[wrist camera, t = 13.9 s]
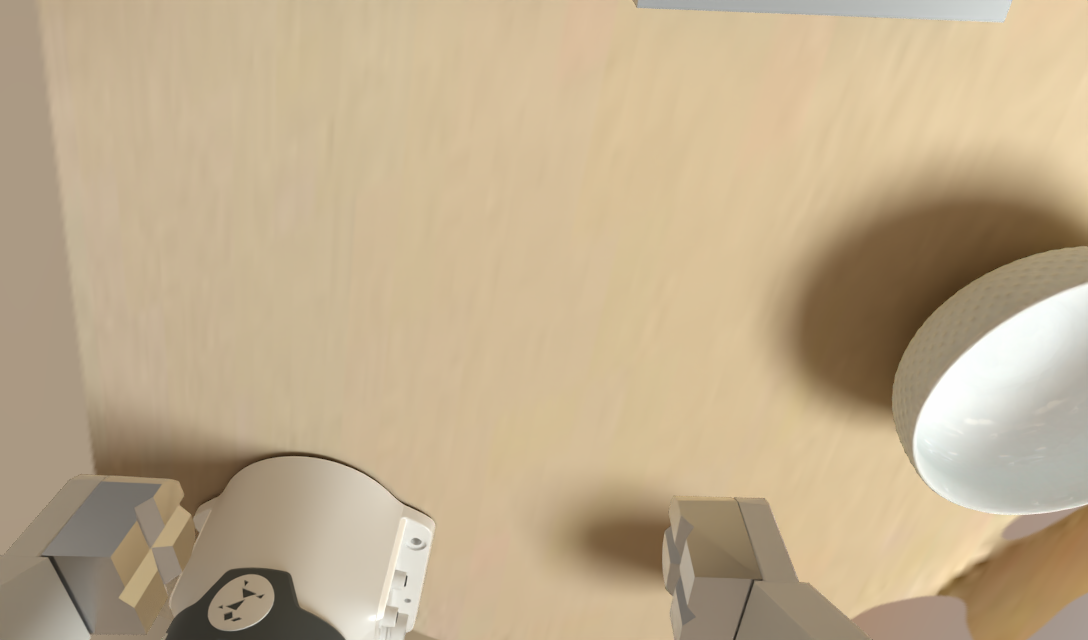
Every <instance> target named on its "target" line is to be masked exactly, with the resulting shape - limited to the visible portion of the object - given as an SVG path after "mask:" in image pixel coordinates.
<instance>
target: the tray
mask: <svg viewBox="0 0 1088 640" xmlns="http://www.w3.org/2000/svg"><path fill="white" fill-rule="evenodd" d="M633 2H634V3H635V5H636V7H637V8H655V9H680V10H705V11H730V12H755V13H780V14H805V15H831V16H856V17H881V18H906V19H931V20H956V21H981V22H1004V21H1005V18H1006V15H1007V13H1008V10H1009V8H1010V5H1011V3H1012V0H633Z"/></svg>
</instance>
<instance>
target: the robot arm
mask: <svg viewBox="0 0 1088 640" xmlns="http://www.w3.org/2000/svg"><path fill="white" fill-rule="evenodd" d="M184 496H185V495H184V492H183V490H182V488H181V485H180V483H179V481H177V480H173V479H163V478H147V477H130V476H113V475H111V476H105V475H88V474H80V475H78V476H76V477H74V478H72V479H70V480H69V481H68V482H67V483H66V484H65V486H64V487H63V488H62V489H61V490H60V491H59V492H58V494H57V495H56V496H55V497H54V498H53V499H52V500H51V501H50V502H49V504H48V505H47V506H46V507H45V508H44V509H43V510H42V512H41V513H40V514H39V515H38V516H37V517H36V519H35V520H34V521H33V522H32V523H31V524H30V525H29V526H28V528H27V529H26V530H25V531H24V532H23V533H22V534H21V535H20V537H19V538H18V539H17V540H16V541H15V542H14V543H13V545H12V546H11V547H10V548H9V549H8V550H7V551H6V553H5V554H4V555H0V640H89V639H90V638H91V635H90V634H97V635H99V634H100V635H101V634H106V635H107V634H108V635H116V634H117V635H146V634H147V633H148V631H149V630H150V628H151V626H152V624H153V622H154V621H155V619H156V617H157V616H158V614H159V612H160V611H161V609H162V607H163V605H164V604H165V602H166V600H167V598H168V592H167V588H166V584H167V583H168V582H170V581H171V580H172V579H174V578H175V577H177V576H178V575H179V574H180V576H179V578H178V581H177V583H176V585H175V587H174V590H173V592H172V594H171V597H170V600H169V608H170V609H171V610H172V614H173V616H174V619H173V621H172V623H171V624H170V626H169V628H168V630H167V632H166V634H165V635H164V637H163V638H161V640H404V638H405V634H406V633H407V632H409V631H411V630H412V629H413V627H414V623H415V620H416V617H417V613H418V608H419V603H420V598H421V594H422V589H423V584H424V579H425V575H426V570H427V565H428V560H429V555H430V551H431V546H432V541H433V536H434V532H435V523H434V521H433V520H432V519H431V518H430V517H428V516H426V515H425V514H423V513H421V512H419V511H417V510H415V509H412V508H410V507H408V506H406V505H404V504H402V503H401V502H399V501H398V500H397V499H396V498H395V497H394V496H393V495H391V494H390V493H389V492H388V491H387V490H386V489H385V488H384V487H383V486H381V485H380V484H379V483H377V482H376V481H375V480H373V479H371V478H370V477H368V476H366V475H365V474H363V473H361V472H359V471H357V470H355V469H352V468H350V467H348V466H345V465H342V464H339V463H336V462H332V461H329V460H324V459H319V458H313V457H303V456H285V457H276V458H270V459H265V460H262V461H259V462H256V463H253V464H251V465H249V466H247V467H245V468H244V469H242V470H241V471H239V472H238V473H237V474H236V475H235V476H234V477H233V478H232V479H231V480H230V481H229V483H228V484H227V486H226V488H225V489H224V491H223V492H222V493H221V494H220V495H219V496H218V497H216V498H214V499H212V500H209V501H207V502H205V503H204V504H202V505H201V506H199V507H198V509H197V511H196V513H195V515H194V518H192V515H191V514H190V513H189V512H188V511H186V510H185V509H184V508H182V507H181V506H180V505H179V504H180V502H181V500H182V499H183V497H184ZM669 517H670V522H671V526H670V527H669V528H668V529H666V530H665V533H664V539H663V548H662V566H663V576H664V583H665V589H666V590H667V591H668V592H669V593H670V594H671V595H672V596H673V600H672V605H671V609H670V618H671V623H672V629H673V634H674V640H873V639H871V638H870V637H869V636H868V635H867V634H866V633H865V632H863V631H862V630H861V629H860V628H859V627H858V626H857V625H856V624H855V623H853V622H852V621H851V620H850V619H849V618H848V617H847V616H846V615H844V614H843V613H842V612H841V611H840V610H839V609H838V608H837V607H835V606H834V605H833V604H832V603H831V602H830V601H829V600H828V599H826V598H825V597H824V596H823V595H822V594H821V593H820V592H819V591H817V590H816V589H815V588H814V587H813V586H812V585H811V584H810V583H805V582H799V580H798V577H797V575H796V572H795V570H794V567H793V564H792V562H791V559H790V557H789V554H788V551H787V549H786V546H785V544H784V541H783V538H782V536H781V533H780V531H779V528H778V525H777V523H776V520H775V518H774V515H773V512H772V510H771V507H770V505H769V503H768V502H767V501H766V500H765V499H764V498H737V497H734V498H731V497H700V496H673V498H672V500H671V503H670V508H669ZM195 528H196V529H197V531H198V532H199V535H198V537H197V540H196V542H195ZM194 542H195V544H194Z"/></svg>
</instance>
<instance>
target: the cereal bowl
mask: <svg viewBox="0 0 1088 640" xmlns="http://www.w3.org/2000/svg"><path fill="white" fill-rule="evenodd" d="M892 388H893V395H892V412H893V420H894V422H895V425H896V431H897V433H898V436H899V439H900V442H901V444H902V446H903V448H904V451H905V453H906V454H907V456H908V457H909V460H910V463H911V464H912V465H913V466H914V468H915V470H916V472H917V474H918V475H919V476H920V477H921V478H922V480H923V481H924V482H925V484H926V485H927V486H929V487H930V488H931V489H932V490H933V491H934V492H936V493H937V494H938V495H940V496H941V497H943V498H945V499H947V500H948V501H950V502H952V503H955V504H957V505H960V506H963V507H965V508H969V509H973V510H977V511H981V512H985V513H992V514H1003V515H1026V514H1039V513H1048V512H1054V511H1060V510H1065V509H1071V508H1075V507H1079V506H1083V505H1086V504H1088V246H1078V247H1073V248H1063V249H1059V250H1050V251H1047V252H1044V253H1036V254H1034V255H1031V256H1028V257H1026V258H1022V259H1019V260H1015V261H1014V262H1012V263H1009V264H1006V265H1003V266H1001V267H999V268H997V269H995V270H993V271H992V272H989V273H986V274H985V275H983V276H981V277H980V278H978V279H976V280H974V281H972V282H971V283H970V284H969V285H967V286H965V287H964V288H962V289H960V290H958V291H957V292H956V294H955V295H953V296H951V297H950V298H949V299H948V300H947V301H945V302H944V303H943V304H942V305H941V306H939V307H938V308H937V310H935V311H934V312H933V313H932V315H931V316H930V317H928V318H927V320H926V321H925V322H924V323H923V325H922V327H921V328H919V329H918V330H917V332H916V334H915V336H914V337H913V338H912V340H911V341H910V342H909V345H908V347H907V349H906V350H905V352H904V354H903V356H902V359H901V361H900V363H899V365H898V370H897V371H896V373H895V382H894V384H893V387H892Z"/></svg>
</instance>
